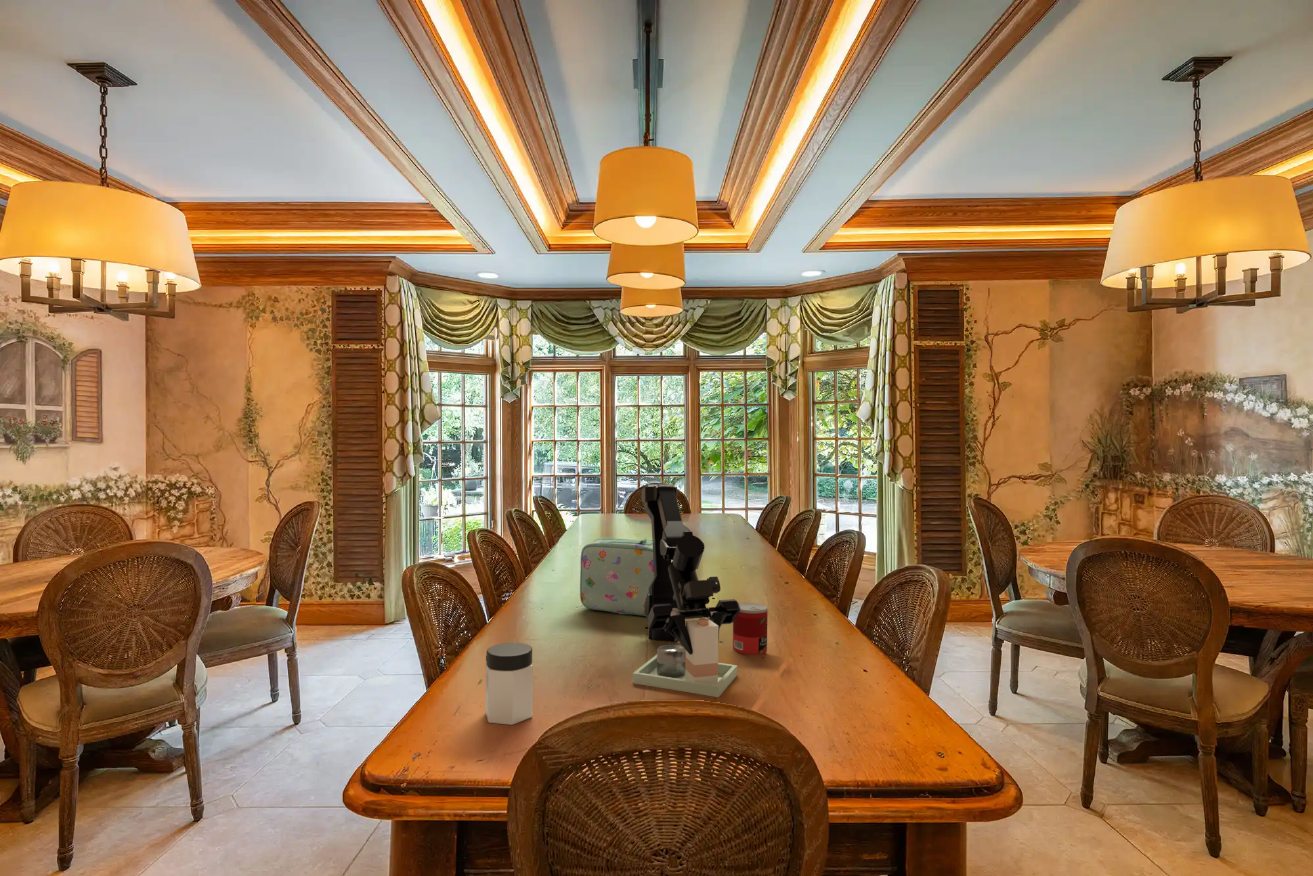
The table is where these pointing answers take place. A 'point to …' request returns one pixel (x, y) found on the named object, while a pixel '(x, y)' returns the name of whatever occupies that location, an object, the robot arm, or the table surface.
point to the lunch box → (616, 575)
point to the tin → (671, 661)
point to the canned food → (750, 629)
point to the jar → (509, 683)
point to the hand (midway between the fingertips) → (704, 652)
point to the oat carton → (702, 651)
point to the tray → (651, 678)
